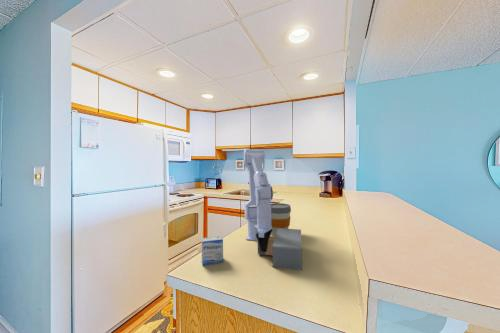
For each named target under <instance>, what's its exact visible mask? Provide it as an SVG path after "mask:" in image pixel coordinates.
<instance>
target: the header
mask: <svg viewBox="0 0 500 333" xmlns="http://www.w3.org/2000/svg"><path fill="white" fill-rule="evenodd" d="M272 249H273V255H272V268H274V269H286V270H292V271H293V270H296V271H303V253H302V252H303V250H302V229H297V228H296V229H295V228H288V229H283V228H278V230H277V233H276V236H275V239H274V243H273V246H272Z"/></svg>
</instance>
